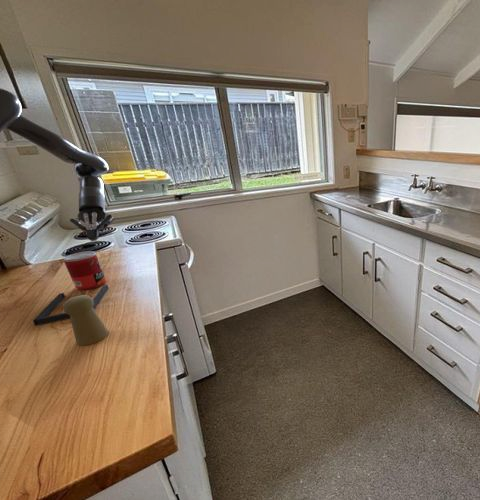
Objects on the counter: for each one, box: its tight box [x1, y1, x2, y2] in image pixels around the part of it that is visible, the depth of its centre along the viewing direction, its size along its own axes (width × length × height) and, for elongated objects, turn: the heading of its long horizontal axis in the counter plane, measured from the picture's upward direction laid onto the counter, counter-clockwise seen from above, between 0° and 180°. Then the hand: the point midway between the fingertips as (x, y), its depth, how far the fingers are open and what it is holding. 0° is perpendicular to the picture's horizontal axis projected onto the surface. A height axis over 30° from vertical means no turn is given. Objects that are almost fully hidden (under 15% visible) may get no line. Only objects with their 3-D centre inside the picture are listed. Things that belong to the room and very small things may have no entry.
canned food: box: [63, 250, 107, 291], centre depth 93 cm, size 8×8×11 cm
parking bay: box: [32, 284, 110, 326], centre depth 83 cm, size 12×16×2 cm
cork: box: [62, 294, 110, 347], centre depth 67 cm, size 6×6×11 cm
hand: (93, 239), depth 103 cm, fingers closed
